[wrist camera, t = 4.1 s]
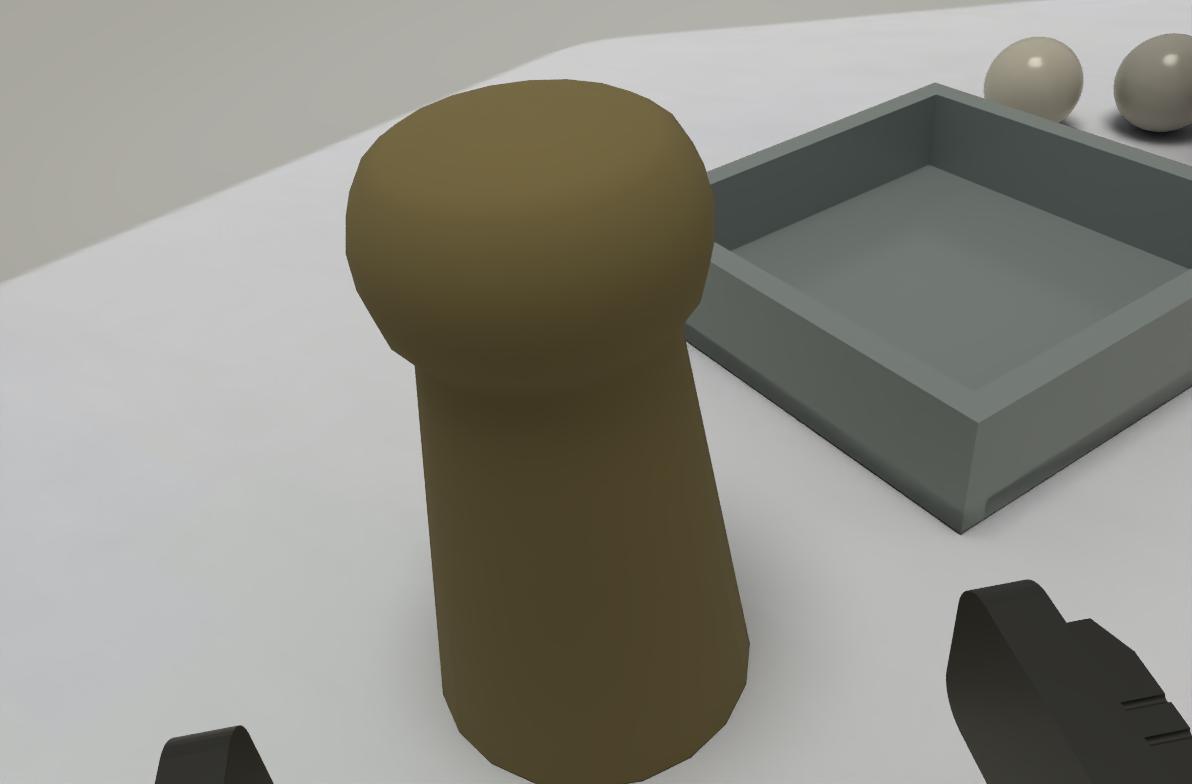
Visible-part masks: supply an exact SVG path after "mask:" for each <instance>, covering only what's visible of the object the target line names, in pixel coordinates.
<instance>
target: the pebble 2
mask: <svg viewBox="0 0 1192 784" xmlns="http://www.w3.org/2000/svg"><path fill="white" fill-rule="evenodd" d="M1114 98H1115V102H1116V105H1117V107H1118V109H1119V111H1120V113H1121V114H1122V115H1123V117H1124V118H1125V119H1126V120H1128V121H1129V122H1130V123H1131V124H1133V125H1135V126H1136V127H1138V128H1141V129H1144V130H1147V131H1152V132H1167V131H1173V130H1177V129H1180V128H1183V127H1185V126H1187V125H1189V124H1191V123H1192V36H1190V35H1185V34H1164V35H1160V36H1156V37H1153V38H1151V39H1148V40H1146V41H1145V42H1143V43H1141V44H1140V45H1138V46H1137V47H1136V48H1134V49H1133V50H1132V51H1131V52H1130V53H1129V54H1128V55H1127V56H1126V57H1125V59H1124V60H1123V61H1122V63H1121V65H1120V67H1119V69H1118V71H1117V73H1116V76H1115V80H1114Z"/></svg>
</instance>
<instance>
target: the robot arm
mask: <svg viewBox="0 0 1192 784" xmlns="http://www.w3.org/2000/svg"><path fill="white" fill-rule="evenodd" d="M946 685H947V693H948V698H949V703H950V707H951V710H952V713H953V716H954V719H955V721H956V724H957V726H958V728H959V730H960V732H961V734H962V736H963V738H964V740H965V742H966V744H967V746H968V748H969V750H970V752H971V754H972V756H973V758H974V760H975V762H976V763H977V765H978V767H979V769H980V771H981V773H982V775H983V777H984V779H985V781H986V783H987V784H1192V735H1191V733H1190V727H1189V726H1188V725H1187V723H1186V722H1185V720H1184V719H1183V718H1182V716H1181V715H1180V714H1179V712H1178V711H1177V709H1176V708H1175V707H1174V705H1173V704H1172V703H1171V702H1167V700H1166V698H1165V693H1164V692H1163V690H1162V689H1161V687H1160V686H1159V685H1158V683H1157V682H1156V680H1155V679H1154V678H1153V676H1152V675H1151V674H1150V672H1149V671H1148V669H1147V668H1146V667H1145V665H1144V664H1143V663H1142V661H1141V660H1140V658H1139V657H1138V656H1137V654H1136V653H1135V652H1134V651H1133V650H1132V649H1130V648H1129V647H1128V646H1126V645H1125V644H1124V643H1122V642H1121V641H1120V640H1118V639H1117V638H1116V637H1114V636H1113V635H1112V634H1110V633H1109V632H1108V631H1106V630H1105V629H1104V628H1102V627H1101V626H1100V625H1098V624H1097V623H1096V622H1094V621H1093V620H1092V619H1090V618H1089V619H1084V620H1078V621H1073V622H1068V623H1066V621H1065V620H1064V619H1063V617H1062V616H1061V614H1060V613H1059V611H1058V610H1057V608H1056V607H1055V605H1054V604H1053V602H1052V601H1051V599H1050V598H1049V596H1048V595H1047V594H1046V592H1045V591H1044V590H1043V588H1042V587H1041V586H1040V585H1039V584H1037V583H1036V582H1034V581H1032V580H1022V581H1016V582H1011V583H1006V584H1001V585H995V586H990V587H985V588H979V589H974V590H969V591H965V592H964V593H963V594H962V595H961V597H960V600H959V604H958V610H957V615H956V621H955V627H954V632H953V638H952V644H951V649H950V655H949V661H948V666H947V673H946ZM155 784H273V782H272V779H271V777H270V775H269V773H268V771H267V769H266V767H265V765H264V763H263V761H262V759H261V757H260V755H259V753H258V751H257V749H256V747H255V745H254V743H253V741H252V739H251V737H250V735H249V733H248V732H247V730H246V729H245V728H244V727H243V726H234V727H228V728H223V729H218V730H213V731H207V732H202V733H197V734H191V735H186V736H181V737H175V738H172V739H170V740H168V742H167V743H166V744H165V746H164V748H163V751H162V753H161V757H160V761H159V766H158V771H157V776H156V781H155Z"/></svg>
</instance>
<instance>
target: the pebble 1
mask: <svg viewBox="0 0 1192 784" xmlns="http://www.w3.org/2000/svg"><path fill="white" fill-rule="evenodd" d="M1082 89H1083V71H1082V67H1081V64H1080V61H1079V59H1078V58H1077V56H1076V55H1075V53H1074V52H1073V51H1072V50H1071V49H1070V48H1069V47H1068V46H1066V45H1065V44H1063V43H1062V42H1060V41H1057V40H1055V39H1052V38H1047V37H1031V38H1026V39H1023V40H1020V41H1017V42H1015V43H1013V44H1011V45H1010V46H1008V47H1007V48H1005V49H1004V50H1003V51H1002V52H1001V53H1000V54H999V55H998V56H997V57H996V58H995V59H994V61H993V62H992V64H991V65H990V67H989V69H988V72H987V74H986V77H985V82H984V98H985V99H987V100H990V101H993V102H996V103H999V104H1002V105H1005V106H1008V107H1011V108H1014V109H1017V110H1020V111H1023V112H1026V113H1029V114H1032V115H1035V116H1039V117H1042V118H1045V119H1048V120H1051V121H1054V122H1057V123H1060V122H1061V121H1062V120H1064V119H1065V118H1066V117H1067V116H1068V115H1069V114H1070V113H1071V112H1072V110H1073V109H1074V108H1075V106H1076V104H1077V103H1078V101H1079V98H1080V96H1081V93H1082Z"/></svg>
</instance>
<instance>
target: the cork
mask: <svg viewBox="0 0 1192 784" xmlns="http://www.w3.org/2000/svg"><path fill="white" fill-rule="evenodd" d="M714 241H715V199H714V196H713V193H712V189H711V186H710V183H709V179H708V176H707V173H706V169H705V166H704V163H703V161H702V160H701V158H700V156H699V154H698V152H697V150H696V148H695V146H694V144H693V142H692V141H691V139H690V138H689V136H688V135H687V134H686V132H685V131H684V130H683V128H682V127H681V125H680V124H679V123H678V121H677V120H676V119H675V117H674V116H673V114H671V113H670V112H668V111H667V110H665V109H664V108H662V107H660V106H659V105H657V104H656V103H654V102H653V101H651V100H650V99H647V98H645V97H643V96H640V95H638V94H635V93H633V92H630V91H627V90H624V89H620V88H617V87H613V86H610V85H607V84H603V83H596V82H587V81H577V80H568V79H563V80H528V81H521V82H513V83H506V84H499V85H492V86H487V87H483V88H479V89H475V90H471V91H468V92H464V93H460V94H456V95H452V96H450V97H447V98H445V99H442V100H440V101H437V102H435V103H433V104H430V105H428V106H425V107H423V108H420V109H419V110H417V111H415V112H414V113H412V114H411V115H409V116H408V117H406V118H405V119H403V120H401V121H400V122H398V123H397V124H395V125H394V126H393V127H391V128H390V129H389V130H388V131H386V132H385V133H384V134H383V135H381V136H380V137H379V138H378V139H377V140H376V141H375V143H374V144H373V145H372V146H371V147H370V148H369V150H368V151H367V152H366V153H365V154H364V156H363V157H362V158H361V160H360V163H359V166H358V169H357V172H356V174H355V177H354V180H353V183H352V186H351V188H350V191H349V198H348V205H347V212H346V256H347V260H348V263H349V267H350V270H351V273H352V277H353V280H354V284H355V287H356V290H357V292H358V294H359V296H360V297H361V299H362V301H363V303H364V304H365V306H366V308H367V310H368V311H369V313H370V315H371V316H372V318H373V320H374V321H375V323H376V325H377V326H378V328H379V330H380V331H381V333H382V335H383V336H384V338H385V340H386V341H387V343H388V345H389V346H390V348H391V349H392V350H393V351H395V352H396V353H397V354H399V355H400V356H402V357H403V358H405V359H406V360H408V361H409V362H411V363H412V364H413V365H415V374H416V386H417V397H418V409H419V420H420V432H421V444H422V455H423V467H424V478H425V490H426V501H427V513H428V525H429V536H430V548H431V559H432V571H433V582H434V594H435V606H436V617H437V629H438V640H439V652H440V663H441V675H442V687H443V695H444V698H445V700H446V702H447V704H448V707H449V709H450V711H451V714H452V716H453V718H454V721H455V723H456V725H457V728H458V730H459V732H460V733H461V734H462V735H463V736H464V737H465V738H466V739H467V740H468V741H469V742H470V743H471V744H472V745H473V746H474V747H475V748H476V749H477V750H478V751H479V752H480V753H481V754H482V755H483V756H485V757H486V758H487V759H488V760H489V761H490V762H491V763H492V764H494V765H497V766H499V767H501V768H503V769H505V770H508V771H510V772H512V773H514V774H516V775H519V776H521V777H523V778H525V779H527V780H530V781H532V782H534V783H536V784H625V783H631V782H637V781H643V780H645V779H647V778H649V777H651V776H653V775H655V774H657V773H659V772H661V771H663V770H665V769H667V768H669V767H671V766H673V765H675V764H678V763H680V762H682V761H684V760H686V759H688V758H690V757H691V756H692V755H693V754H694V753H695V752H696V751H698V750H699V749H700V748H701V747H702V746H703V745H704V744H705V743H706V742H707V741H708V740H709V739H710V738H711V737H712V736H713V735H714V734H715V733H716V732H717V731H719V730H720V729H721V728H722V727H723V726H724V725H725V724H726V722H727V720H728V719H729V717H730V715H731V713H732V711H733V709H734V707H735V705H736V703H737V701H738V699H739V697H740V695H741V693H742V691H743V689H744V687H745V685H746V679H747V667H748V656H749V645H750V643H749V639H748V634H747V629H746V624H745V620H744V615H743V610H742V605H741V601H740V596H739V591H738V586H737V582H736V577H735V572H734V568H733V563H732V558H731V553H730V549H729V544H728V539H727V534H726V530H725V525H724V520H723V515H722V511H721V506H720V501H719V497H718V492H717V487H716V482H715V478H714V473H713V468H712V463H711V459H710V454H709V449H708V444H707V440H706V435H705V430H704V426H703V421H702V416H701V411H700V407H699V402H698V397H697V392H696V388H695V383H694V378H693V373H692V369H691V364H690V359H689V355H688V350H687V345H686V340H685V336H684V331H683V324H684V323H685V322H686V320H687V319H688V318H689V317H690V315H691V314H692V313H693V312H694V310H695V309H696V308H697V306H698V305H699V304H700V302H701V298H702V294H703V290H704V287H705V283H706V279H707V275H708V271H709V267H710V262H711V257H712V251H713V246H714Z"/></svg>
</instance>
